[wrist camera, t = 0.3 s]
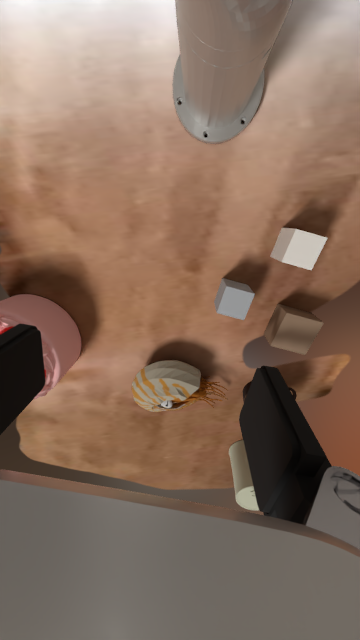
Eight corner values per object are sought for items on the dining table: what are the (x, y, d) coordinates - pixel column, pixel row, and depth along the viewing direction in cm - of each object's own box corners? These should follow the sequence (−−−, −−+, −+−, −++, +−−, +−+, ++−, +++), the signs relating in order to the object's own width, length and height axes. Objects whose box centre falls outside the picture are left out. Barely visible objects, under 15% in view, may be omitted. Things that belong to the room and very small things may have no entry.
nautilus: (236, 365, 52) (212, 409, 58) (144, 341, 49) (130, 390, 56) (244, 391, 45) (216, 437, 51) (137, 364, 42) (122, 417, 49)
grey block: (222, 277, 43) (226, 286, 38) (247, 284, 43) (254, 293, 38) (214, 301, 45) (216, 312, 40) (238, 308, 46) (243, 320, 40)
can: (257, 435, 59) (271, 485, 48) (267, 458, 62) (282, 509, 51) (224, 444, 61) (230, 492, 50) (235, 465, 64) (243, 515, 53)
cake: (78, 380, 56) (42, 428, 43) (-4, 357, 54) (-67, 400, 41) (87, 308, 48) (47, 341, 35) (-8, 280, 47) (-87, 303, 34)
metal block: (277, 303, 45) (286, 312, 40) (310, 312, 45) (323, 322, 40) (263, 333, 48) (270, 345, 43) (294, 342, 48) (305, 354, 43)
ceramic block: (282, 227, 39) (296, 228, 34) (309, 235, 39) (327, 237, 34) (270, 256, 41) (281, 261, 36) (296, 263, 41) (311, 270, 36)
